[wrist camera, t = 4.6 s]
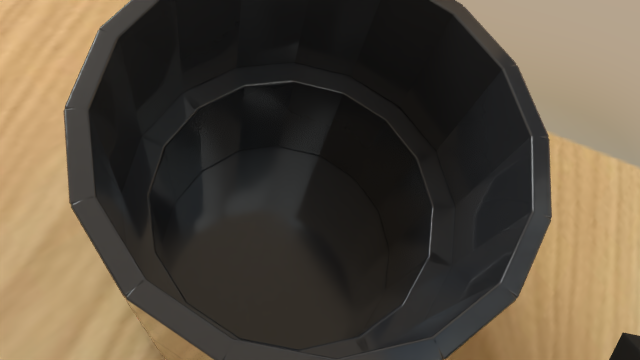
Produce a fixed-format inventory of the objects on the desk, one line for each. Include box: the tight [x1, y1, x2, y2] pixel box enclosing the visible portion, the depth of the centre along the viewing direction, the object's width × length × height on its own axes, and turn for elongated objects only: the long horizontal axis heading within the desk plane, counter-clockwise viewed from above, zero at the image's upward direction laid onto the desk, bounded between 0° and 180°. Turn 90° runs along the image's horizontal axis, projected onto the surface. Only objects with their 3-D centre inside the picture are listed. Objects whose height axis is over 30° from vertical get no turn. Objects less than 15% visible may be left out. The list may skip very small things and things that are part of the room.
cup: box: [64, 0, 552, 360], centre depth 17 cm, size 11×11×10 cm
